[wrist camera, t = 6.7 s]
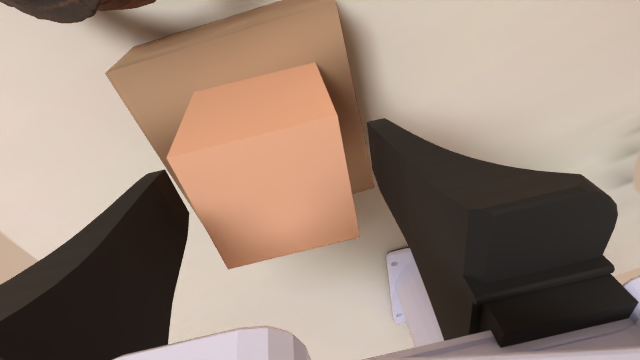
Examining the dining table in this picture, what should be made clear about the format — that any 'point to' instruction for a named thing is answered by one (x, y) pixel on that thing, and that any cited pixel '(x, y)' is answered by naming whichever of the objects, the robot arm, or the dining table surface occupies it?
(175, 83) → the light tan wooden block
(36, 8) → the pottery mug
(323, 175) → the terracotta block
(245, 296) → the dining table surface
